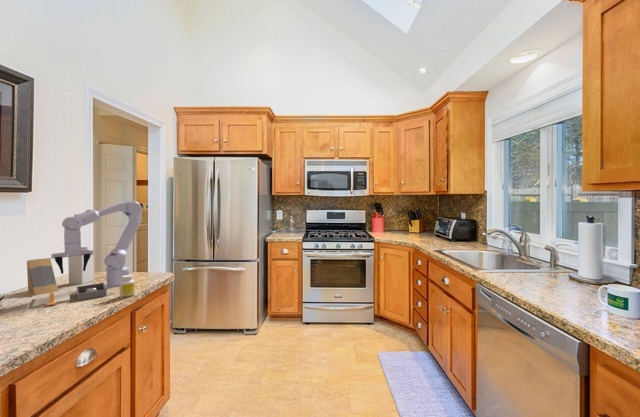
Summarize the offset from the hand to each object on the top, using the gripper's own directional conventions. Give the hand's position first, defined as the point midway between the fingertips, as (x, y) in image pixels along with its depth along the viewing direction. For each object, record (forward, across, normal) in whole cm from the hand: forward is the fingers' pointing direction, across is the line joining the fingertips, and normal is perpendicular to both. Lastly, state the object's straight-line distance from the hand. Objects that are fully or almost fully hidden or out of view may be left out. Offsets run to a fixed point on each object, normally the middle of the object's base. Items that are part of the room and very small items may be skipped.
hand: (73, 272), depth 131 cm
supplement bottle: (+11, +18, -22) cm, 30 cm away
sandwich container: (+11, -11, +15) cm, 22 cm away
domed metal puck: (+10, +6, -4) cm, 12 cm away
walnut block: (+10, +6, -10) cm, 16 cm away
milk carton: (+11, +3, +22) cm, 25 cm away
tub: (+10, +6, -8) cm, 14 cm away
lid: (+10, -7, -7) cm, 14 cm away
